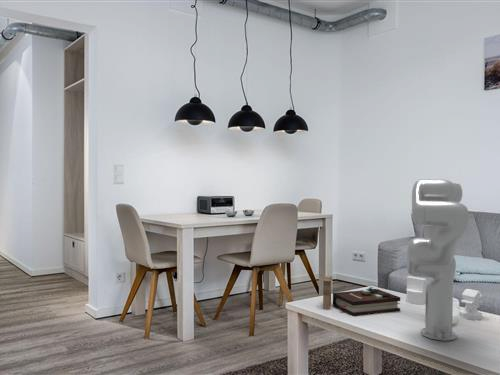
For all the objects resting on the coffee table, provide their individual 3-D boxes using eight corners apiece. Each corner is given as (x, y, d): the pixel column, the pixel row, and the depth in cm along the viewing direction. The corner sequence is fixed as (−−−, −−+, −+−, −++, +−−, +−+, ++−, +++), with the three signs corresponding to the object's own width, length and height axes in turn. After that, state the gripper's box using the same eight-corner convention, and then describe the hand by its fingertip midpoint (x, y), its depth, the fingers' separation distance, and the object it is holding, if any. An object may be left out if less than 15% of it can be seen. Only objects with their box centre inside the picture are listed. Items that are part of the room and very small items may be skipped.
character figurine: (485, 317, 193) (486, 290, 193) (474, 321, 187) (475, 293, 187) (466, 313, 200) (466, 286, 200) (454, 316, 194) (455, 289, 194)
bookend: (330, 309, 202) (330, 281, 202) (323, 308, 203) (323, 280, 203) (331, 303, 213) (332, 276, 213) (324, 302, 214) (325, 276, 214)
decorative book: (327, 290, 209) (379, 286, 219) (326, 306, 209) (379, 301, 219) (350, 301, 191) (406, 295, 201) (349, 318, 191) (406, 312, 201)
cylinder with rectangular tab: (403, 301, 218) (403, 277, 218) (411, 298, 224) (412, 275, 224) (420, 305, 211) (420, 280, 211) (429, 302, 217) (429, 278, 217)
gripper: (452, 213, 191) (452, 256, 191) (416, 212, 195) (415, 254, 195) (456, 214, 184) (456, 258, 184) (418, 213, 187) (418, 256, 188)
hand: (435, 256), depth 189 cm, fingers closed
